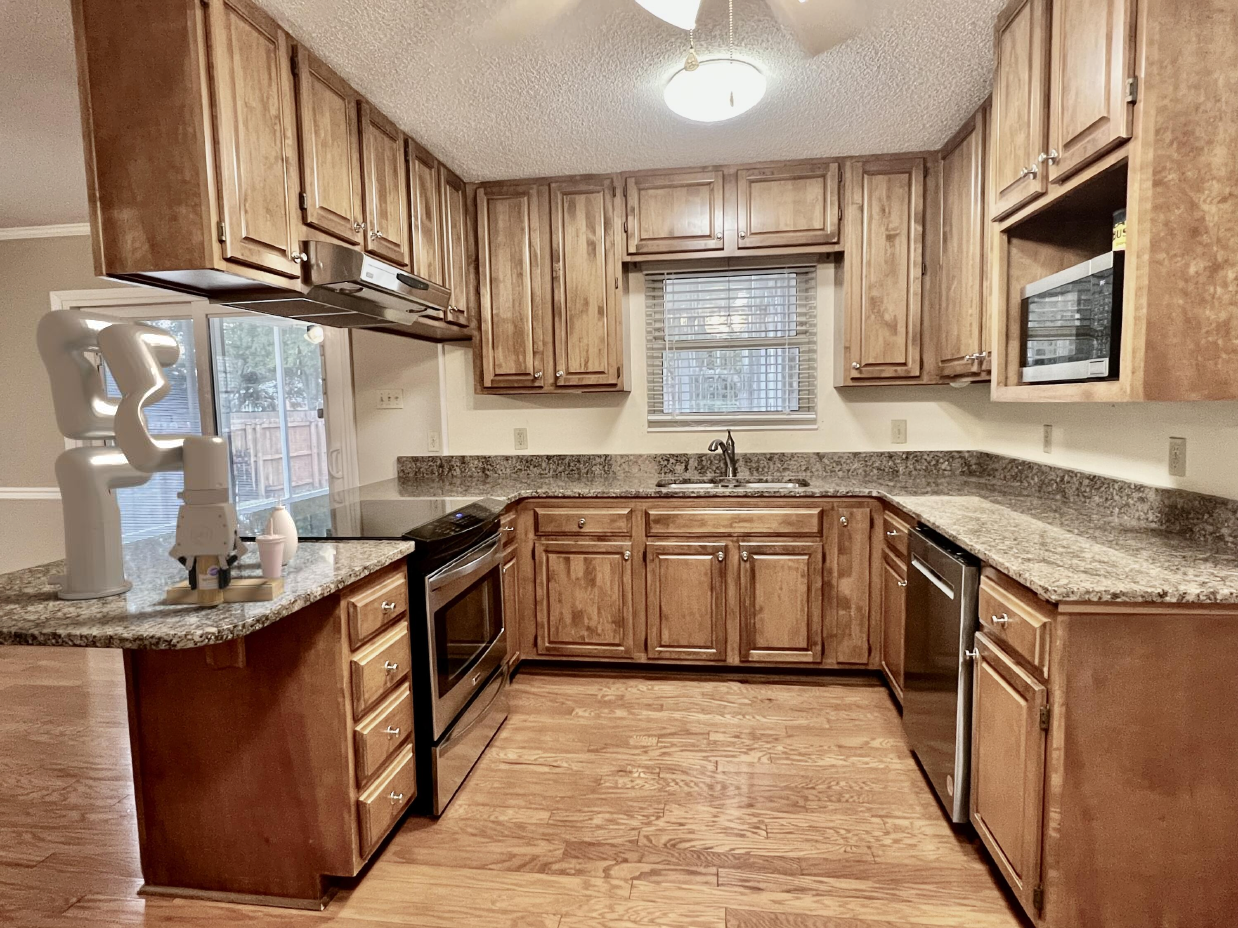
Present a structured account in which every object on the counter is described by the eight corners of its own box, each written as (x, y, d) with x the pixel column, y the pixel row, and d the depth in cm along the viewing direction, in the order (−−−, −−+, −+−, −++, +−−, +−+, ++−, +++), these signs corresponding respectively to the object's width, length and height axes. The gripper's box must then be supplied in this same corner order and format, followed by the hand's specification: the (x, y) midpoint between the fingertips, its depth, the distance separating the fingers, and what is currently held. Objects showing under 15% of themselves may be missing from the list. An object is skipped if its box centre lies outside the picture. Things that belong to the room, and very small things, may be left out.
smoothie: (290, 572, 159) (288, 516, 158) (281, 579, 153) (279, 520, 152) (262, 573, 158) (260, 516, 157) (252, 580, 152) (250, 520, 151)
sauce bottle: (262, 569, 163) (260, 498, 162) (265, 563, 170) (263, 494, 169) (297, 566, 166) (295, 496, 165) (298, 560, 173) (297, 493, 172)
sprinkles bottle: (207, 607, 127) (205, 540, 126) (191, 605, 129) (189, 538, 128) (229, 601, 131) (227, 536, 130) (213, 599, 133) (211, 534, 132)
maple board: (166, 604, 132) (166, 589, 131) (183, 594, 139) (183, 580, 138) (272, 600, 135) (272, 585, 135) (284, 591, 142) (283, 577, 142)
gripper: (149, 500, 124) (153, 594, 125) (245, 499, 126) (248, 591, 128) (170, 496, 131) (173, 584, 132) (260, 494, 134) (262, 582, 135)
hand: (210, 587), depth 130 cm, fingers closed on sprinkles bottle, 4 cm apart
